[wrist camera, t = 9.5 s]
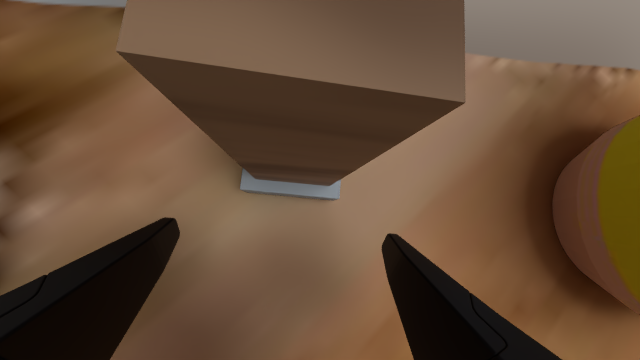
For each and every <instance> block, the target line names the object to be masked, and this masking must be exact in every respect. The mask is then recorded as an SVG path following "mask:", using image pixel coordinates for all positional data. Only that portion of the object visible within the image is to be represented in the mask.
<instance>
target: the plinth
mask: <svg viewBox="0 0 640 360" xmlns="http://www.w3.org/2000/svg"><path fill="white" fill-rule="evenodd" d="M340 182H341V179H340V180H339V181H337V182H335V183H334V184H332V185H330V186H322V185H312V184H301V183H290V182H280V181H269V180H258V179H255V178H254V177H253V176H251V175H250V174H249V173H248V172H247V171H246V170H245V169H244V168H243V170H242V178H241V185H240V190H243V191H245V192H248V193H259V194H270V195H280V196H291V197H301V198H312V199H322V200H337V199H339V196H340Z"/></svg>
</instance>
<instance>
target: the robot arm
mask: <svg viewBox="0 0 640 360" xmlns="http://www.w3.org/2000/svg"><path fill="white" fill-rule="evenodd" d="M179 236H180V231H179V228H178V224H177V221H176V219H175V218H166V217H165V218H162V219H160V220H158V221H156V222H154V223H152V224H150V225H147V226H145V227H143V228H141V229H139V230H137V231H135V232H133V233H131V234H129V235H127V236H125V237H123V238H121V239H119V240H117V241H114V242H112V243H110V244H108V245H106V246H104V247H102V248H100V249H98V250H96V251H94V252H92V253H90V254H88V255H86V256H83V257H81V258H79V259H77V260H75V261H73V262H71V263H69V264H67V265H65V266H63V267H61V268H59V269H57V270H55V271H52V272H50V273H49V274H48V275H43V276H41V277H39V278H37V279H35V280H33V281H31V282H29V283H27V284H25V285H23V286H20V287H18V288H16V289H14V290H12V291H10V292H8V293H6V294H3V295H1V296H0V360H110V358H111V357H112V355H113V353H114V352H115V350H116V348H117V347H118V345H119V343H120V342H121V340H122V339H123V337H124V335H125V334H126V332H127V330H128V329H129V327H130V325H131V324H132V322H133V320H134V319H135V317H136V315H137V314H138V312H139V311H140V309H141V307H142V306H143V304H144V302H145V301H146V299H147V297H148V296H149V294H150V292H151V291H152V289H153V287H154V286H155V284H156V283H157V281H158V279H159V278H160V276H161V274H162V273H163V271H164V269H165V267H166V265H167V263H168V261H169V259H170V256H171V254H172V252H173V250H174V248H175V245H176V243H177V241H178V239H179ZM382 254H383V259H384V264H385V269H386V274H387V278H388V282H389V285H390V288H391V291H392V294H393V297H394V300H395V303H396V306H397V309H398V312H399V316H400V319H401V322H402V325H403V328H404V331H405V334H406V337H407V340H408V343H409V346H410V349H411V352H412V355H413V358H414V360H562V359H560V358H559V357H558V356H556V355H555V354H553V353H552V352H551V351H549V350H548V349H546V348H545V347H544V346H542V345H541V344H539V343H538V342H537V341H535V340H534V339H532V338H531V337H530V336H528V335H527V334H525V333H524V332H523V331H521V330H520V329H518V328H517V327H516V326H514V325H513V324H511V323H510V322H509V321H507V320H506V319H505V318H503V317H502V316H500V315H499V314H498V313H496V312H495V311H494V310H492V309H491V308H490V307H489V306H487V305H486V304H485V303H483V302H482V301H481V300H480V299H478V298H477V297H476V296H474V295H473V294H472V293H470V292H469V291H468V290H466V289H465V288H464V287H463V286H461V285H460V284H459V283H458V282H456V281H455V280H454V279H453V278H451V277H450V276H449V275H448V274H446V273H445V272H444V271H443V270H441V269H440V268H439V267H438V266H436V265H435V264H434V263H433V262H431V261H430V260H429V259H427V258H426V257H425V256H424V255H422V254H421V253H420V252H419V251H417V250H416V249H415V248H414V247H412V246H411V245H410V244H409V243H407V242H406V241H405V240H404V239H402V238H401V237H400V236H399V235H397V234H390V233H389V234H387V236H386V238H385V240H384V242H383V244H382Z"/></svg>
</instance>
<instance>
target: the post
mask: <svg viewBox="0 0 640 360" xmlns="http://www.w3.org/2000/svg"><path fill="white" fill-rule="evenodd" d="M464 32H465V28H464V0H127V3H126V7H125V12H124V16H123V21H122V25H121V30H120V34H119V38H118V43H117V47H116V52H118V53H119V54H120V55H121V56H122V57H123V58H124V59H125V60H126V61H127V62H128V63H130V64H131V65H132V66H133V67H134V68H135V69H136V70H137V71H138V72H139V73H140V74H142V75H143V76H144V77H145V78H146V79H147V80H148V81H149V82H150V83H151V84H152V85H153V86H155V87H156V88H157V89H158V90H159V91H160V92H161V93H162V94H163V95H164V96H165V97H167V98H168V99H169V100H170V101H171V102H172V103H173V104H174V105H175V106H176V107H177V108H179V109H180V110H181V111H182V112H183V113H184V114H185V115H186V116H187V117H188V118H189V119H190V120H192V121H193V122H194V123H195V124H196V125H197V126H198V127H199V128H200V129H201V130H202V131H204V132H205V133H206V134H207V135H208V136H209V137H210V138H211V139H212V140H213V141H214V142H216V143H217V144H218V145H219V146H220V147H221V148H222V149H223V150H224V151H225V152H226V153H227V154H229V155H230V156H231V157H232V158H233V159H234V160H235V161H236V162H237V163H238V164H239V165H241V166H242V167H243V168H244V169H245V170H246V171H247V172H248V173H249V174H250V175H251V176H253V177H254V178H255V179H258V180H269V181H280V182H290V183H301V184H312V185H322V186H330V185H332V184H334V183H335V182H337V181H339V180H340V179H342V178H343V177H345V176H347V175H348V174H350V173H352V172H353V171H355V170H357V169H358V168H360V167H361V166H363V165H365V164H366V163H368V162H370V161H371V160H373V159H374V158H376V157H378V156H379V155H381V154H383V153H384V152H386V151H387V150H389V149H391V148H392V147H394V146H396V145H397V144H399V143H400V142H402V141H404V140H405V139H407V138H409V137H410V136H412V135H413V134H415V133H417V132H418V131H420V130H422V129H423V128H425V127H426V126H428V125H430V124H431V123H433V122H435V121H436V120H438V119H439V118H441V117H443V116H444V115H446V114H448V113H449V112H451V111H452V110H454V109H456V108H457V107H459V106H461V105H462V104H464V103H465V36H464V35H465V33H464Z"/></svg>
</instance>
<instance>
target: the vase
mask: <svg viewBox="0 0 640 360" xmlns="http://www.w3.org/2000/svg"><path fill="white" fill-rule="evenodd" d="M552 208H553V220H554V224H555V229H556V232H557V235H558V238H559V240H560V243H561V245H562V247H563V248H564V250H565V252H566V254H567V255H568V257H569V258H570V259H571V261H572V262H573V263H574V264H575V266H576V267H577V268H578V269H579V270H580V271H582V272H583V273H584V274H585V275H586V276H587V277H589V278H590V279H591V280H593V281H594V282H595V283H597V284H598V285H599V286H601V287H602V288H603V289H605V290H606V291H607V292H608V293H610V294H611V295H612V296H614V297H615V298H616V299H618V300H619V301H620V302H622V303H623V304H624V305H626V306H627V307H628V308H630V309H631V310H632V311H634V312H636V313H638V314H639V315H640V115H639V116H637V117H635V118H632V119H630V120H628V121H626V122H623V123H621V124H619V125H617V126H615V127H613V128H612V129H610V130H609V131H607V132H605V133H604V134H602V135H601V136H600V137H599V138H598V139H596V140H595V141H594V142H593V143H592V144H590V145H589V146H588V147H587V148H586V149H584V150H583V151H582V152H581V153H580V154H578V155H577V156H576V157H575V158H574V159H572V160H571V161H570V162H569V163H568V164H567V165H566V166H565V167H564V169H563V170H562V172H561V174H560V175H559V177H558V180H557V182H556V185H555V188H554V194H553V201H552Z"/></svg>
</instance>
